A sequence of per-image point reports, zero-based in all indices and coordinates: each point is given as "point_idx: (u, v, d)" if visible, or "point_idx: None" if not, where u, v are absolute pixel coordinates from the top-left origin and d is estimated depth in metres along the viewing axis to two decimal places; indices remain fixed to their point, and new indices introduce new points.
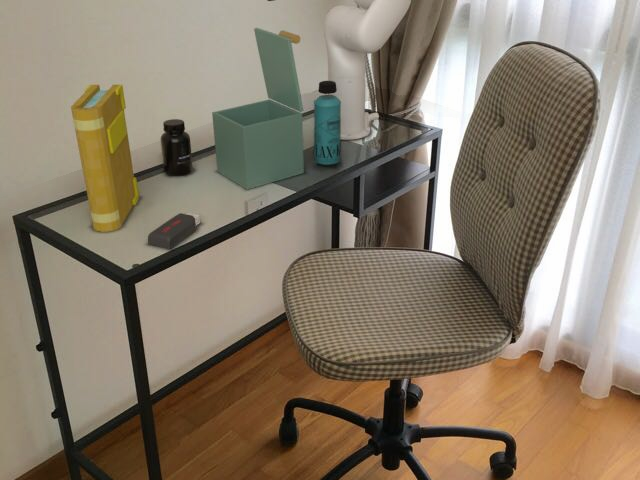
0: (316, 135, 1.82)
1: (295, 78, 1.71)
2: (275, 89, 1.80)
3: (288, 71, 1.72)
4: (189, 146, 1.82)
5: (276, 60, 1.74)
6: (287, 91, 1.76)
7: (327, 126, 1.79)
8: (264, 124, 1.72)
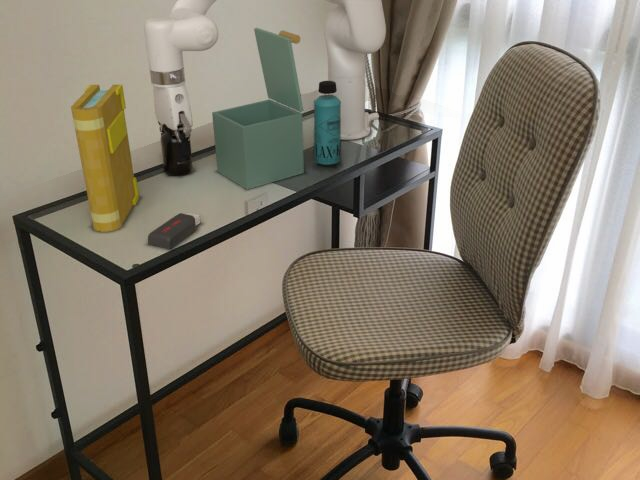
0: (316, 135, 1.82)
1: (295, 78, 1.71)
2: (275, 89, 1.80)
3: (288, 71, 1.72)
4: None
5: (276, 60, 1.74)
6: (287, 91, 1.76)
7: (327, 126, 1.79)
8: (264, 124, 1.72)
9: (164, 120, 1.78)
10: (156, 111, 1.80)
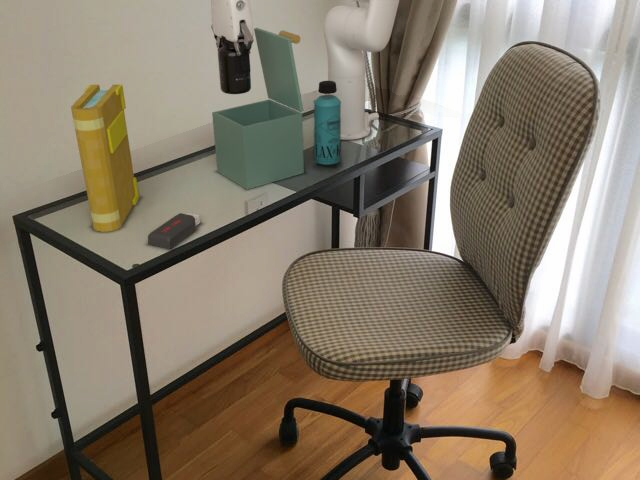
0: (316, 135, 1.82)
1: (295, 78, 1.71)
2: (275, 89, 1.80)
3: (288, 71, 1.72)
4: None
5: (276, 60, 1.74)
6: (287, 91, 1.76)
7: (327, 126, 1.79)
8: (264, 124, 1.72)
9: (223, 31, 1.66)
10: (213, 23, 1.68)
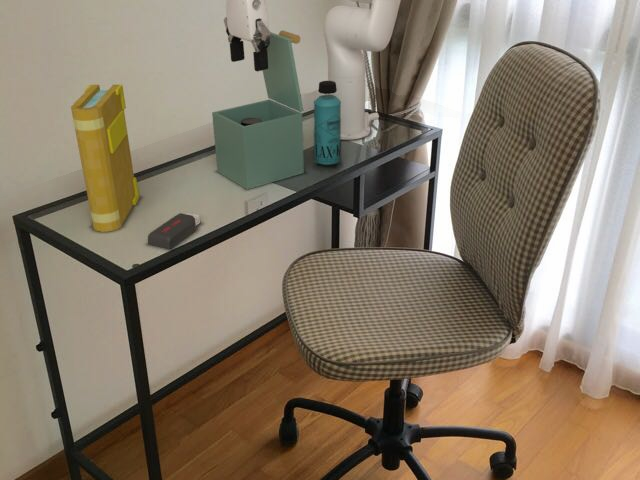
0: (316, 135, 1.82)
1: (295, 78, 1.71)
2: (275, 89, 1.80)
3: (288, 71, 1.72)
4: None
5: (276, 60, 1.74)
6: (287, 91, 1.76)
7: (327, 126, 1.79)
8: (264, 124, 1.72)
9: (238, 31, 1.65)
10: (229, 22, 1.68)
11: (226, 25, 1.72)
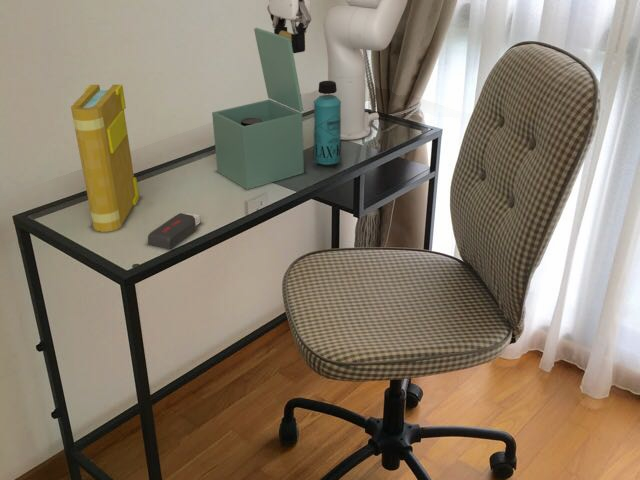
0: (316, 135, 1.82)
1: (295, 78, 1.71)
2: (275, 89, 1.80)
3: (288, 71, 1.72)
4: None
5: (276, 60, 1.74)
6: (287, 91, 1.76)
7: (327, 126, 1.79)
8: (264, 124, 1.72)
9: (280, 10, 1.69)
10: (271, 2, 1.71)
11: (270, 12, 1.76)
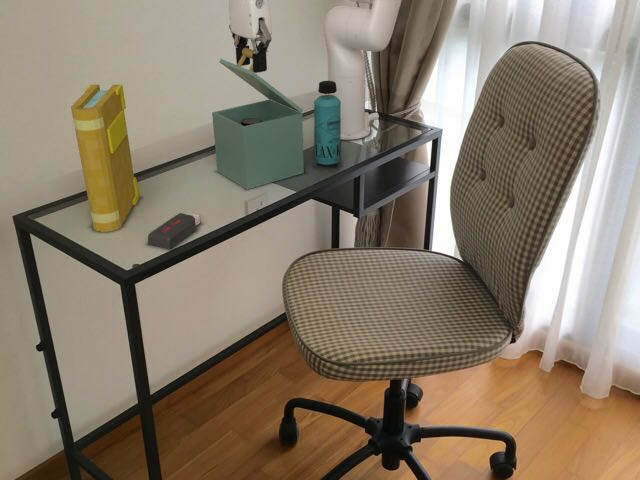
0: (316, 135, 1.82)
1: (279, 94, 1.71)
2: (269, 96, 1.80)
3: (269, 90, 1.71)
4: None
5: (254, 82, 1.73)
6: (279, 100, 1.76)
7: (327, 126, 1.79)
8: (264, 124, 1.72)
9: (241, 29, 1.66)
10: (231, 21, 1.68)
11: (232, 30, 1.72)
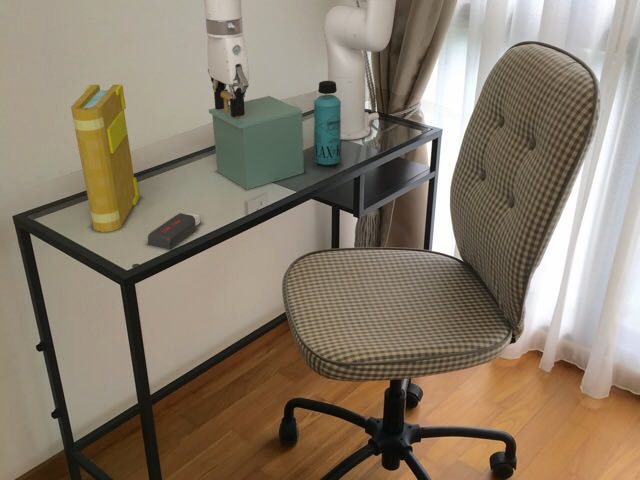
0: (316, 135, 1.82)
1: (273, 119, 1.72)
2: None
3: None
4: None
5: None
6: None
7: (327, 126, 1.79)
8: (264, 124, 1.72)
9: (219, 74, 1.67)
10: (210, 66, 1.69)
11: None
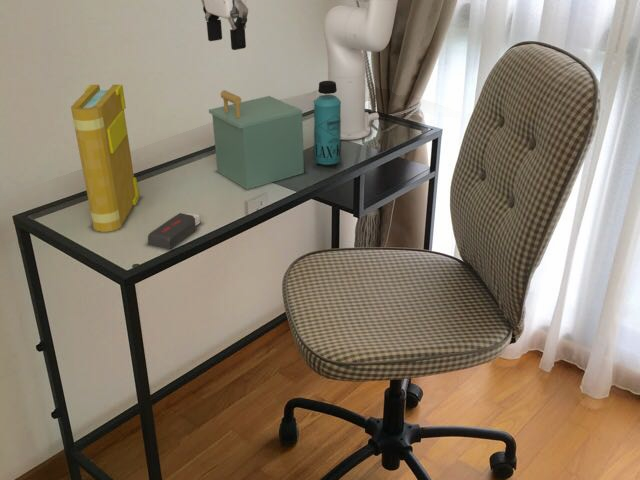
0: (316, 135, 1.82)
1: (273, 119, 1.72)
2: None
3: None
4: None
5: None
6: None
7: (327, 126, 1.79)
8: (264, 124, 1.72)
9: (215, 7, 1.60)
10: None
11: (203, 3, 1.67)
